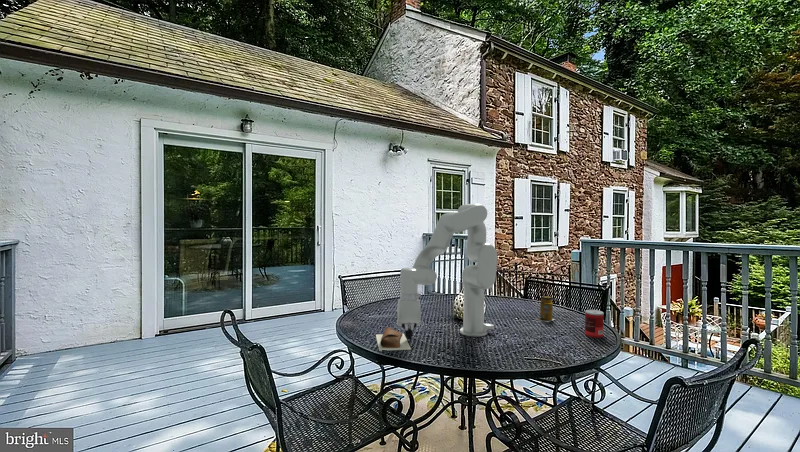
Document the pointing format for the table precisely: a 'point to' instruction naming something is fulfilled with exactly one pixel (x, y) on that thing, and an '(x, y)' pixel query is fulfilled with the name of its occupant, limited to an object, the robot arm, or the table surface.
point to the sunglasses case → (391, 338)
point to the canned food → (594, 323)
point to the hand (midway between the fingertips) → (408, 338)
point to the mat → (403, 346)
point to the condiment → (546, 309)
